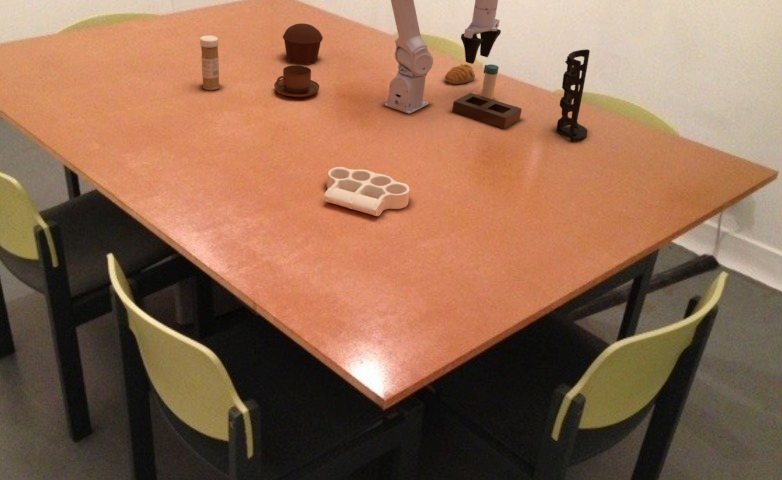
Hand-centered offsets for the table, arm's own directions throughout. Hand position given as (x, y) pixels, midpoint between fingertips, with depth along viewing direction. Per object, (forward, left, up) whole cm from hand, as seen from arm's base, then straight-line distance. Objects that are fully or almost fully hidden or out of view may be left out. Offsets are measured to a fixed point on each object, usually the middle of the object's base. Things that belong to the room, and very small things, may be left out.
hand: (477, 59), depth 204 cm
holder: (-3, -30, -11) cm, 32 cm away
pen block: (-9, -10, -10) cm, 17 cm away
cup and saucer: (-32, +35, -11) cm, 49 cm away
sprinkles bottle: (-46, +53, -11) cm, 71 cm away
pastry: (+9, +9, -11) cm, 16 cm away
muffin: (-11, +51, -11) cm, 53 cm away
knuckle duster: (-66, -13, -11) cm, 68 cm away
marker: (+1, -4, -10) cm, 11 cm away
